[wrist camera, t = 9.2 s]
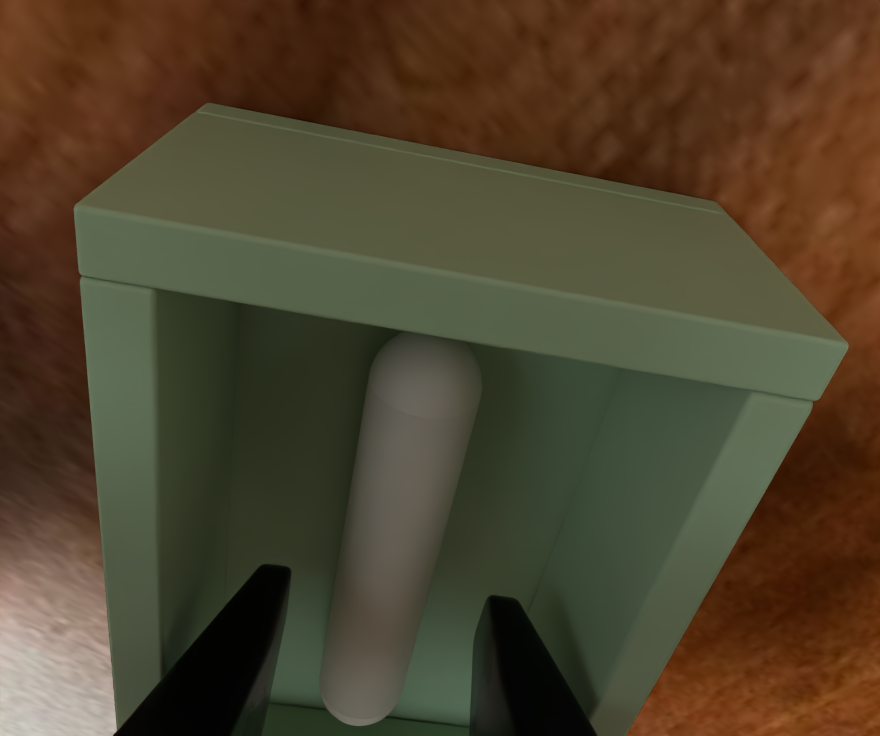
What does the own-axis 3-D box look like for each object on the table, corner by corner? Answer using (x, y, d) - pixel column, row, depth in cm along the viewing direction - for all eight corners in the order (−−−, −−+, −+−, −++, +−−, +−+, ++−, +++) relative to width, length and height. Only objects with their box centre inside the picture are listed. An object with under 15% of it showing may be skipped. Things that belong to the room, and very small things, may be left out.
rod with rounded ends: (401, 675, 13) (391, 751, 12) (325, 660, 13) (306, 735, 12) (494, 320, 9) (492, 378, 8) (386, 297, 9) (367, 353, 8)
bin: (504, 724, 15) (518, 928, 12) (196, 686, 14) (128, 890, 11) (717, 200, 9) (854, 344, 6) (206, 100, 8) (70, 204, 5)
